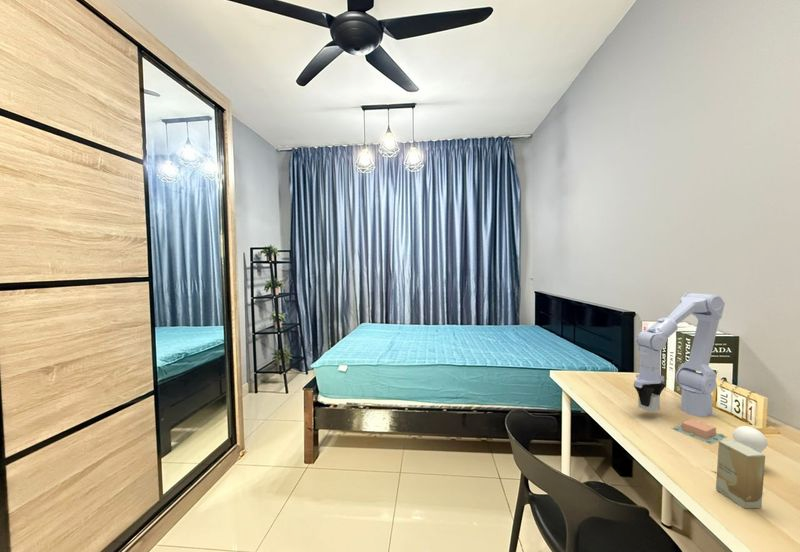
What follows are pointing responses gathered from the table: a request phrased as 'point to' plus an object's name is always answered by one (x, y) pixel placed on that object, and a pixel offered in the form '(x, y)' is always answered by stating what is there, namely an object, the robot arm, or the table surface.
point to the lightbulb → (750, 438)
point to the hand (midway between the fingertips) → (649, 404)
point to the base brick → (699, 429)
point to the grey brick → (651, 403)
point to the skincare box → (740, 473)
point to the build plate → (709, 440)
